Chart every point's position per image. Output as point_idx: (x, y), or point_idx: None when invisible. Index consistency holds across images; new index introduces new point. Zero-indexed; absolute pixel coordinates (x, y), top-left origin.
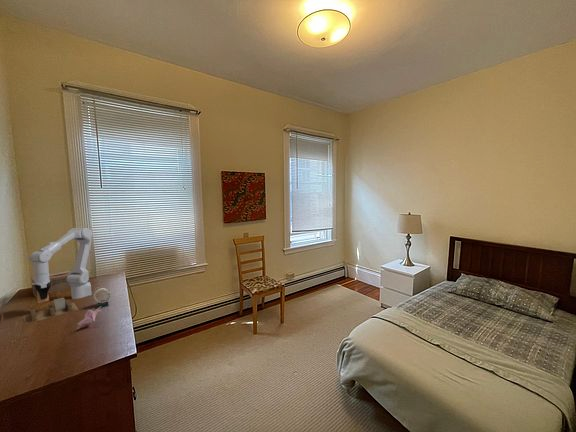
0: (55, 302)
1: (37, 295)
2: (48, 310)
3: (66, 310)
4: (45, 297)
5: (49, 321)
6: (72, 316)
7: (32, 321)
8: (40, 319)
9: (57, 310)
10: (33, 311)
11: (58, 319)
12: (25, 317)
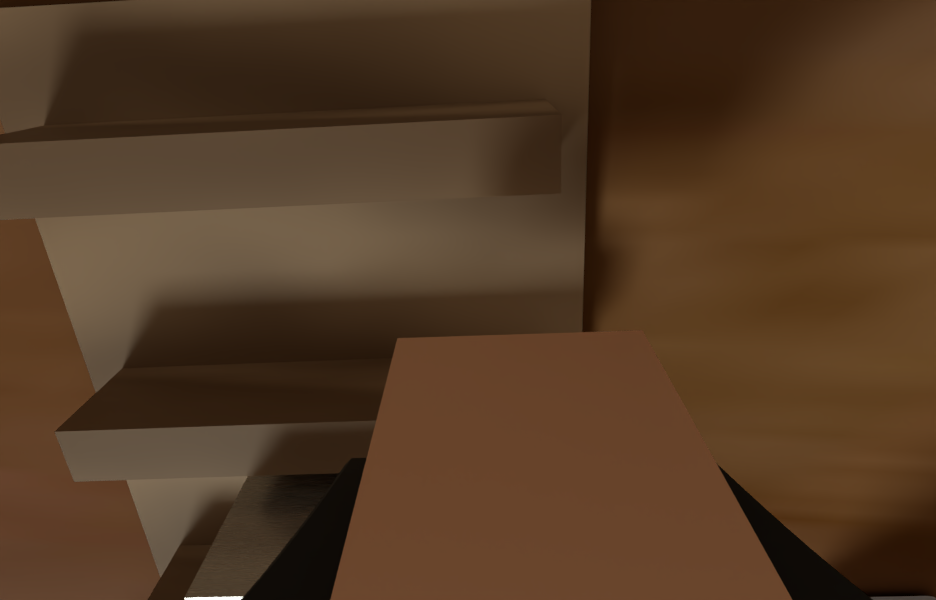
0: (199, 585)
1: (566, 477)
2: None
3: None
4: None
5: (4, 323)
6: (24, 541)
7: (43, 125)
8: (72, 236)
9: None
10: (258, 177)
11: (15, 415)
12: (402, 14)
